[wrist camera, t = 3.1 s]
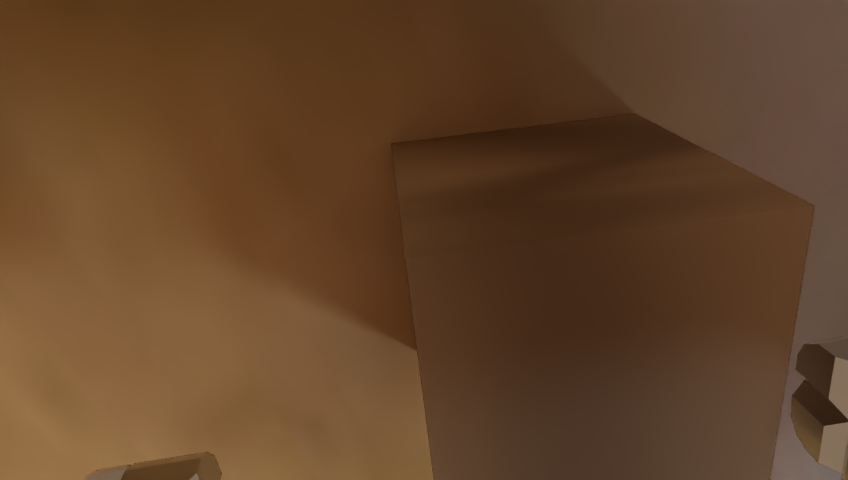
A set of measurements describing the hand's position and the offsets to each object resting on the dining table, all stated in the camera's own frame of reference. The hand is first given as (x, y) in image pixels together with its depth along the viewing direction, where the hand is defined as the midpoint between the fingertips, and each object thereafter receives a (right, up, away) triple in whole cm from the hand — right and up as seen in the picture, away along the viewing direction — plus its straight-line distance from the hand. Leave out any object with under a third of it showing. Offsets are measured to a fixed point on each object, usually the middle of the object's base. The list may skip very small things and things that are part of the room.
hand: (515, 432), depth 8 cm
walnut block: (+1, +3, +4) cm, 5 cm away
